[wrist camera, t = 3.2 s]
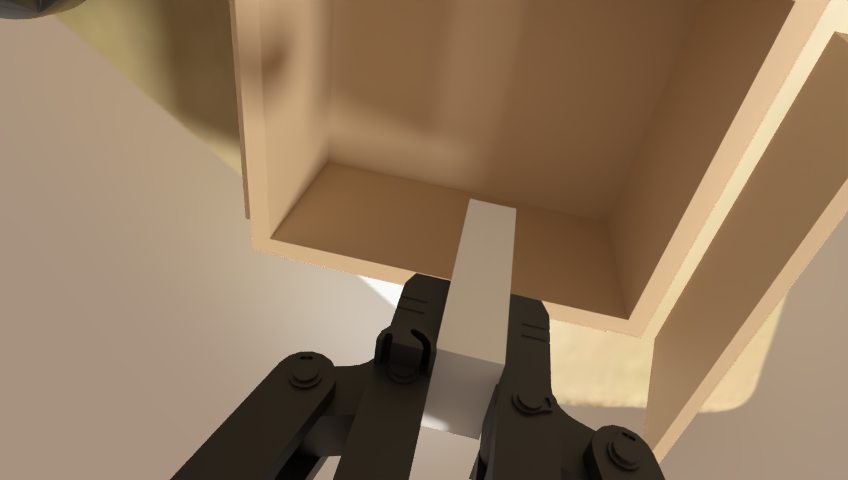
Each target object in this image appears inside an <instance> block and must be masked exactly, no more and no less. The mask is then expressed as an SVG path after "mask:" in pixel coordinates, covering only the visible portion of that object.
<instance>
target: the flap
mask: <svg viewBox="0 0 848 480" xmlns="http://www.w3.org/2000/svg"><path fill="white" fill-rule="evenodd" d="M847 211H848V34H844V33H839V32H834V34H833V35H832V37H831V39H830V40H829V42H828V44H827V45H826V47H825V49H824V51H823V52H822V54H821V56H820V57H819V59H818V61H817V63H816V64H815V66H814V68H813V69H812V71H811V73H810V75H809V76H808V78H807V80H806V81H805V83H804V85H803V86H802V88H801V90H800V92H799V93H798V95H797V97H796V98H795V100H794V102H793V104H792V105H791V107H790V109H789V110H788V112H787V114H786V116H785V117H784V119H783V121H782V122H781V124H780V126H779V127H778V129H777V131H776V133H775V134H774V136H773V138H772V139H771V141H770V143H769V145H768V146H767V148H766V150H765V151H764V153H763V155H762V157H761V158H760V160H759V162H758V163H757V165H756V167H755V168H754V170H753V172H752V174H751V175H750V177H749V179H748V180H747V182H746V184H745V186H744V187H743V189H742V191H741V192H740V194H739V196H738V198H737V199H736V201H735V203H734V204H733V206H732V208H731V209H730V211H729V213H728V215H727V216H726V218H725V220H724V221H723V223H722V225H721V227H720V228H719V230H718V232H717V233H716V235H715V237H714V239H713V240H712V242H711V244H710V245H709V247H708V249H707V251H706V252H705V254H704V256H703V257H702V259H701V261H700V262H699V264H698V266H697V268H696V269H695V271H694V273H693V274H692V276H691V278H690V280H689V281H688V283H687V285H686V286H685V288H684V290H683V292H682V293H681V295H680V297H679V298H678V300H677V302H676V303H675V305H674V307H673V309H672V310H671V312H670V314H669V315H668V317H667V319H666V321H665V322H664V324H663V326H662V327H661V329H660V331H659V333H658V334H657V336H656V338H655V342H654V351H653V359H652V367H651V376H650V384H649V392H648V401H647V409H646V418H645V427H644V434H643V440H644V441H645V442H646V443H647V444H648V446H649V447H650V449H651V451H652V452H653V454H654V455H655V458H656V460H657V462H658V464H659V463H660V462H661V460H662V459H663V458H664V456H665V455H666V454H667V452H668V451H669V450H670V448H671V447H672V446H673V444H674V443H675V441H676V440H677V439H678V437H679V436H680V435H681V433H682V432H683V431H684V429H685V428H686V427H687V425H688V424H689V423H690V421H691V420H692V419H693V417H694V416H695V415H696V413H697V412H698V411H699V409H700V408H701V407H702V405H703V404H704V403H705V401H706V400H707V399H708V397H709V396H710V395H711V393H712V392H713V391H714V389H715V388H716V387H717V385H718V384H719V383H720V381H721V380H722V379H723V377H724V376H725V375H726V373H727V372H728V371H729V369H730V368H731V367H732V365H733V364H734V363H735V361H736V360H737V359H738V357H739V356H740V355H741V353H742V352H743V351H744V349H745V348H746V346H747V345H748V344H749V342H750V341H751V340H752V338H753V337H754V336H755V334H756V333H757V332H758V330H759V329H760V328H761V326H762V325H763V324H764V322H765V321H766V320H767V318H768V317H769V316H770V314H771V313H772V312H773V310H774V309H775V308H776V306H777V305H778V304H779V302H780V301H781V300H782V298H783V297H784V296H785V294H786V293H787V292H788V290H789V289H790V288H791V286H792V285H793V284H794V282H795V281H796V279H797V278H798V277H799V276H800V274H801V273H802V271H803V270H804V269H805V267H806V266H807V265H808V263H809V262H810V260H811V259H812V258H813V257H814V255H815V254H816V253H817V251H818V250H819V249H820V247H821V246H822V245H823V243H824V242H825V241H826V239H827V238H828V237H829V235H830V234H831V233H832V231H833V230H834V229H835V227H836V226H837V225H838V223H839V222H840V221H841V219H842V218H843V217H844V215H845V214H846V213H847Z"/></svg>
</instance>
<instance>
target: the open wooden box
mask: <svg viewBox="0 0 848 480" xmlns="http://www.w3.org/2000/svg"><path fill="white" fill-rule="evenodd" d="M829 2H830V0H229V8H230V21H231V34H232V47H233V59H234V72H235V85H236V98H237V111H238V124H239V136H240V149H241V162H242V175H243V188H244V200H245V213H246V218H247V219H250V220H251V234H252V247H253V250H256V251H261V252H265V253H269V254H274V255H278V256H282V257H284V258H286V259H291V260H295V261H299V262H304V263H308V264H312V265H317V266H322V267H326V268H330V269H334V270H339V271H343V272H348V273H352V274H356V275H361V276H365V277H369V278H374V279H378V280H382V281H387V282H391V283H395V284H400V285H405V282H406V281H408V280H409V279H410V278H411V277H412V276H413V275H414V274H416V273H420V274H424V275H428V276H433V277H437V278H441V279H446V280H450V281H451V279H452V275H453V270H454V266H455V262H456V257H457V253H458V248H459V244H460V240H461V235H462V231H463V227H464V222H465V218H466V214H467V209H468V205H469V200H470V199H474V200H478V201H483V202H487V203H492V204H497V205H501V206H506V207H510V208H515V209H516V220H515V234H514V248H513V261H512V275H511V289H510V293H511V294H515V295H519V296H524V297H528V298H532V299H537V300H541V301H542V303H543V304H544V306H545V308H546V310H547V312H548V314H549V319H553V320H557V321H562V322H566V323H570V324H575V325H579V326H583V327H588V328H592V329H597V330H601V331H605V332H606V331H610V332H615V333H619V334H623V335H628V336H632V337H637V338H641V337H642V335H643V333H644V331H645V330H646V328H647V326H648V324H649V322H650V321H651V319H652V317H653V315H654V314H655V312H656V310H657V308H658V306H659V305H660V303H661V301H662V299H663V297H664V296H665V294H666V292H667V290H668V289H669V287H670V285H671V283H672V281H673V280H674V278H675V276H676V274H677V273H678V271H679V269H680V267H681V265H682V264H683V262H684V260H685V258H686V256H687V255H688V253H689V251H690V249H691V248H692V246H693V244H694V242H695V240H696V239H697V237H698V235H699V233H700V232H701V230H702V228H703V226H704V224H705V223H706V221H707V219H708V217H709V215H710V214H711V212H712V210H713V208H714V207H715V205H716V203H717V201H718V199H719V198H720V196H721V194H722V192H723V191H724V189H725V187H726V185H727V183H728V182H729V180H730V178H731V176H732V174H733V173H734V171H735V169H736V167H737V166H738V164H739V162H740V160H741V158H742V157H743V155H744V153H745V151H746V150H747V148H748V146H749V144H750V142H751V141H752V139H753V137H754V135H755V134H756V132H757V130H758V128H759V126H760V125H761V123H762V121H763V119H764V117H765V116H766V114H767V112H768V110H769V109H770V107H771V105H772V103H773V101H774V100H775V98H776V96H777V94H778V93H779V91H780V89H781V87H782V85H783V84H784V82H785V80H786V78H787V76H788V75H789V73H790V71H791V69H792V68H793V66H794V64H795V62H796V60H797V59H798V57H799V55H800V53H801V52H802V50H803V48H804V46H805V44H806V43H807V41H808V39H809V37H810V35H811V34H812V32H813V30H814V28H815V27H816V25H817V23H818V21H819V19H820V18H821V16H822V14H823V12H824V11H825V9H826V7H827V5H828V3H829Z"/></svg>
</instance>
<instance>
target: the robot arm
mask: <svg viewBox="0 0 848 480" xmlns="http://www.w3.org/2000/svg"><path fill="white" fill-rule="evenodd" d="M84 1H85V0H0V18H5V19H32V18H38V17H43V16H46V15H51V14H55V13H59V12H63V11H66V10H69V9H72V8H74V7H76V6H78V5H80V4H81V3H83V2H84ZM515 220H516V209H515V208H510V207H506V206H501V205H497V204H492V203H487V202H483V201H478V200H474V199H470V200H469V205H468V209H467V214H466V218H465V222H464V227H463V231H462V235H461V240H460V244H459V248H458V253H457V257H456V262H455V266H454V270H453V275H452V279H451V281H450V280H446V279H441V278H437V277H433V276H428V275H424V274H420V273H416V274H414V275H413V276H412V277H411V278H410V279H409V280H408V281H406V282H405V285H404V288H403V291H402V293H401V297H400V299H399V302H398V305H397V309H396V311H395V314H394V317H393V320H392V322H391V325H390V326H389V327H387V328H386V329H384V330H382V331H381V333H380V334H379V336H378V337H377V340H376V348H375V356H374V359H372V360H370V361H369V362H366V363H363V364H361V365H354V366H336V367H335V366H334V365H333V363H332V361H331V360H330V359H328V358H327V357H325V356H324V355H322V354H319V353H315V352H298V353H296V354H292V355H289V356H288V357H287V358H285V359H284V360H283V361H281V362H280V363H279V364H278V365H277V366H276V367H275V368H274V369H273V370H272V371H271V372H270V373H269V375H268V376H267V377H266V378H265V379H264V380H263V381H262V382H261V383H260V384H259V385H258V386H257V387H256V388H255V389H254V391H253V392H252V393H251V394H250V395H249V396H248V397H247V398H246V399H245V400H244V401H243V402H242V403H241V404H240V406H239V407H238V408H237V409H236V410H235V411H234V412H233V413H232V414H231V415H230V416H229V417H228V418H227V419H226V420H225V422H224V423H223V424H222V425H221V426H220V427H219V428H218V429H217V430H216V431H215V432H214V433H213V434H212V435H211V437H209V439H208V440H207V441H206V442H205V443H204V444H203V445H202V446H201V447H200V448H199V449H198V450H197V451H196V453H194V455H193V456H192V457H191V458H190V459H189V460H188V461H187V462H186V463H185V464H184V465H183V466H182V467H181V468H180V470H179V471H178V472H177V473H176V474H175V475H174V476H173V477H172V478H171V479H170V480H313V479H314V477H315V476H316V474H317V473H318V471H319V470H320V468H321V467H322V466H323V464H324V463H325V461H326V460H327V458H328V456H341V458H340V461H339V464H338V467H337V469H336V473H335V475H334V478H333V480H409V476H410V471H411V466H412V462H413V458H414V453H415V448H416V444H417V439H418V435H419V430H420V426H421V425H422V426H426V427H430V428H435V429H438V430H442V431H446V432H450V433H454V434H458V435H462V436H466V437H470V438H474V439H478V440H479V437H480V434H481V443H480V450H479V452H478V455H477V458H476V460H475V463H474V466H473V469H472V472H471V474H470V477H469V479H472V480H665V478H664V476H663V474H662V471H661V469H660V467H659V464H658V462H657V460H656V458H655V455H654V454H653V452H652V451H651V449H650V447H649V446H648V444H647V443H646V442H645V441H644V440H643V439H642V438H640V437H639V436H638V435H637V434H636V433H634V432H632V431H630V430H628V429H626V428H624V427H619V426H615V425H609V426H603V427H601V428H600V429H598V430H597V431H594V430H592V429H591V428H589V427H587V426H585V425H583V424H582V423H579V422H578V421H576V420H575V419H573V418H572V417H570V416H568V414H566V413H565V412H564V411H563V410H562V409H561V408H560V406H559V405H558V404H557V400H556V398H555V397H554V395H553V394H552V389H551V366H550V344H549V343H550V332H549V330H550V325H549V314H548V312H547V310H546V308H545V306H544V304H543V303H542V301H541V300H537V299H532V298H528V297H524V296H519V295H515V294H511V293H510V289H511V275H512V261H513V248H514V234H515ZM481 432H482V433H481Z"/></svg>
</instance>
